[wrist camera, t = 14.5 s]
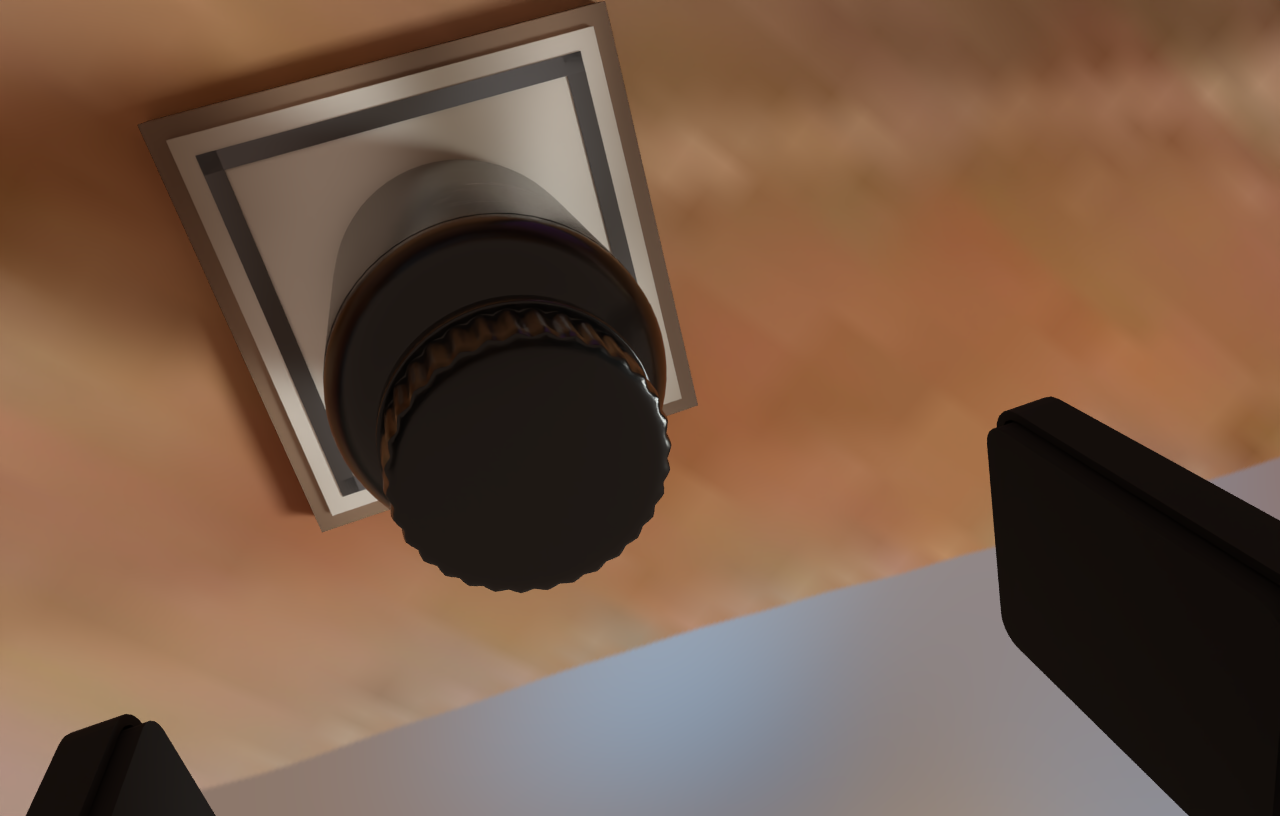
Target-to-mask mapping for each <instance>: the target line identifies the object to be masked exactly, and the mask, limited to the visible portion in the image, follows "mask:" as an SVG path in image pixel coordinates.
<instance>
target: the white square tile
mask: <svg viewBox="0 0 1280 816" xmlns="http://www.w3.org/2000/svg"><path fill="white" fill-rule="evenodd" d="M138 127H139V129H140V132H141V134H142V136H143V138H144V140H145V143H146V145H147V147H148V149H149V151H150V154H151V156H152V158H153V160H154V162H155V165H156V167H157V169H158V171H159V173H160V176H161V178H162V180H163V182H164V184H165V187H166V189H167V191H168V193H169V196H170V198H171V200H172V202H173V204H174V207H175V209H176V211H177V213H178V215H179V218H180V220H181V222H182V224H183V226H184V229H185V231H186V233H187V235H188V237H189V240H190V242H191V244H192V246H193V248H194V251H195V253H196V255H197V257H198V259H199V262H200V264H201V266H202V268H203V271H204V273H205V275H206V277H207V279H208V282H209V284H210V286H211V288H212V290H213V293H214V295H215V297H216V299H217V301H218V304H219V306H220V308H221V310H222V312H223V315H224V317H225V319H226V321H227V323H228V326H229V328H230V330H231V332H232V334H233V337H234V339H235V341H236V343H237V346H238V348H239V350H240V352H241V354H242V357H243V359H244V361H245V363H246V365H247V368H248V370H249V372H250V374H251V376H252V379H253V381H254V383H255V385H256V387H257V390H258V392H259V394H260V396H261V398H262V401H263V403H264V405H265V407H266V409H267V412H268V414H269V416H270V418H271V421H272V423H273V425H274V427H275V429H276V432H277V434H278V436H279V438H280V440H281V443H282V445H283V447H284V449H285V451H286V454H287V456H288V458H289V460H290V462H291V465H292V467H293V469H294V471H295V473H296V476H297V478H298V480H299V482H300V484H301V487H302V489H303V491H304V493H305V496H306V498H307V500H308V502H309V504H310V507H311V509H312V511H313V513H314V515H315V518H316V520H317V522H318V524H319V526H320V529H321V531H322V532H325V531H328V530H331V529H334V528H337V527H340V526H343V525H345V524H348V523H351V522H354V521H357V520H360V519H363V518H366V517H369V516H372V515H375V514H378V513H381V512H384V511H387V510H390V509H388V508H387V507H386V506H384V505H383V504H382V503H381V502H379V501H378V500H377V499H376V498H375V497H374V496H373V495H372V494H370V493H369V492H368V491H367V490H366V489H365V488H364V486H363V485H362V484H361V483H360V482H359V481H358V479H357V478H356V477H355V476H354V474H353V473H352V471H351V470H350V468H349V467H348V465H347V464H346V462H345V461H344V459H343V457H342V455H341V453H340V451H339V449H338V448H337V445H336V443H335V440H334V438H333V435H332V433H331V429H330V426H329V422H328V419H327V414H326V408H325V401H324V387H323V368H324V354H325V345H326V336H327V327H328V319H329V310H330V301H331V292H332V283H333V275H334V269H335V264H336V259H337V254H338V251H339V247H340V244H341V241H342V239H343V236H344V234H345V231H346V230H347V228H348V226H349V224H350V222H351V220H352V219H353V217H354V216H355V214H356V213H357V211H358V210H359V208H360V207H361V206H362V205H363V204H364V203H365V201H366V200H367V199H368V198H369V197H370V196H371V195H372V194H373V193H374V192H375V191H376V190H377V189H379V188H380V187H381V186H383V185H384V184H385V183H386V182H388V181H390V180H391V179H393V178H394V177H396V176H398V175H400V174H402V173H404V172H406V171H408V170H410V169H413V168H415V167H418V166H421V165H424V164H428V163H432V162H437V161H443V160H455V159H466V160H478V161H484V162H489V163H493V164H497V165H500V166H503V167H506V168H508V169H511V170H513V171H515V172H518V173H520V174H522V175H524V176H525V177H527V178H529V179H530V180H532V181H534V182H535V183H537V184H538V185H539V186H541V187H542V188H543V189H545V190H546V191H547V192H548V193H549V194H551V195H552V196H553V197H554V198H555V199H556V200H557V201H558V202H559V203H560V204H561V205H562V206H563V207H565V208H566V209H567V210H568V211H569V212H570V213H571V214H572V215H573V216H574V217H575V218H576V219H577V220H578V221H579V222H580V223H581V224H582V225H583V226H584V227H585V228H586V229H587V230H588V231H589V232H590V233H591V234H592V235H593V236H594V237H595V238H596V239H597V240H598V241H599V242H600V243H601V244H603V245H604V246H605V247H606V248H607V249H608V250H609V251H610V252H611V253H612V254H613V255H614V256H615V257H616V258H617V259H618V260H619V261H620V262H621V264H622V265H623V266H624V267H625V268H626V269H627V270H628V271H629V273H630V274H631V275H632V277H633V278H634V279H635V281H636V282H637V284H638V285H639V286H640V288H641V289H642V291H643V292H644V294H645V296H646V297H647V299H648V301H649V303H650V304H651V307H652V309H653V311H654V313H655V316H656V318H657V321H658V324H659V327H660V330H661V333H662V338H663V343H664V347H665V355H666V365H667V381H666V391H665V398H664V403H663V408H662V410H663V412H664V413H665V414H666V416H668V415H671V414H674V413H677V412H680V411H683V410H686V409H689V408H691V407H694V406H697V405H698V403H697V399H696V395H695V390H694V386H693V382H692V377H691V373H690V369H689V364H688V360H687V356H686V351H685V347H684V343H683V338H682V334H681V329H680V325H679V321H678V316H677V312H676V308H675V303H674V299H673V295H672V290H671V286H670V282H669V277H668V273H667V269H666V264H665V260H664V256H663V251H662V247H661V242H660V238H659V234H658V229H657V225H656V221H655V216H654V212H653V208H652V203H651V199H650V195H649V190H648V186H647V182H646V177H645V173H644V169H643V164H642V160H641V155H640V151H639V147H638V142H637V138H636V134H635V129H634V125H633V121H632V116H631V112H630V108H629V103H628V99H627V95H626V90H625V86H624V81H623V77H622V73H621V68H620V64H619V60H618V55H617V51H616V47H615V42H614V38H613V34H612V29H611V25H610V21H609V16H608V12H607V8H606V3H605V1H603V2H597V3H593V4H589V5H585V6H582V7H578V8H574V9H570V10H566V11H563V12H559V13H555V14H551V15H548V16H544V17H540V18H536V19H532V20H529V21H525V22H521V23H517V24H513V25H510V26H506V27H502V28H498V29H495V30H491V31H487V32H483V33H479V34H476V35H472V36H468V37H464V38H460V39H457V40H453V41H449V42H445V43H442V44H438V45H434V46H430V47H426V48H423V49H419V50H415V51H411V52H408V53H404V54H400V55H396V56H392V57H389V58H385V59H381V60H377V61H373V62H370V63H366V64H362V65H358V66H355V67H351V68H347V69H343V70H339V71H336V72H332V73H328V74H324V75H321V76H317V77H313V78H309V79H305V80H302V81H298V82H294V83H290V84H286V85H283V86H279V87H275V88H271V89H268V90H264V91H260V92H256V93H252V94H249V95H245V96H241V97H237V98H234V99H230V100H226V101H222V102H218V103H215V104H211V105H207V106H203V107H199V108H196V109H192V110H188V111H184V112H181V113H177V114H173V115H169V116H165V117H162V118H158V119H154V120H150V121H146V122H144V123H141V124H139V125H138Z"/></svg>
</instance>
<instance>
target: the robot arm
mask: <svg viewBox="0 0 1280 816" xmlns="http://www.w3.org/2000/svg"><path fill="white" fill-rule="evenodd" d="M987 448H988V460H989V472H990V485H991V497H992V509H993V521H994V533H995V545H996V556H997V568H998V581H999V593H1000V605H1001V614H1002V620H1003V623H1004V626H1005V629H1006V631H1007V633H1008V635H1009V636H1010V638H1011V639H1012V641H1013V642H1014V644H1015V645H1016V646H1017V647H1018V648H1019V649H1020V650H1021V651H1022V652H1023V653H1024V654H1025V655H1026V656H1027V657H1028V658H1029V659H1030V660H1031V661H1032V662H1033V663H1034V664H1035V665H1036V666H1037V667H1038V668H1039V669H1040V670H1041V671H1042V672H1043V673H1044V674H1045V675H1046V676H1047V677H1048V678H1049V679H1050V680H1051V681H1052V682H1053V683H1054V684H1055V685H1056V686H1057V687H1058V688H1060V690H1062V692H1064V693H1065V695H1066V696H1068V697H1069V698H1070V699H1071V700H1072V701H1073V702H1074V703H1075V704H1076V705H1077V706H1078V707H1079V708H1080V709H1081V710H1082V711H1083V712H1084V713H1085V714H1086V715H1087V716H1088V717H1089V718H1090V719H1091V720H1092V721H1093V722H1094V723H1095V724H1096V725H1097V726H1098V727H1099V728H1100V729H1101V730H1102V731H1103V732H1104V733H1105V734H1106V735H1107V736H1108V737H1109V738H1110V739H1111V740H1112V741H1113V742H1114V743H1115V744H1116V745H1117V746H1118V747H1119V748H1120V749H1121V750H1122V751H1123V752H1124V753H1125V754H1127V755H1128V756H1129V757H1130V758H1131V759H1132V760H1133V761H1134V762H1135V763H1136V764H1137V765H1138V766H1139V767H1140V768H1141V769H1142V770H1143V771H1144V772H1145V773H1146V774H1147V775H1148V776H1149V777H1150V778H1151V779H1152V780H1153V781H1154V782H1155V783H1156V784H1157V785H1158V786H1159V787H1160V788H1161V789H1162V790H1163V791H1164V792H1165V793H1166V794H1167V795H1168V796H1169V797H1170V798H1171V799H1172V800H1173V801H1175V803H1176V804H1177V805H1178V806H1179V807H1180V808H1182V810H1183V811H1185V813H1187V814H1188V815H1189V816H1280V521H1279V520H1278V519H1276V518H1274V517H1272V516H1270V515H1269V514H1267V513H1265V512H1263V511H1261V510H1260V509H1258V508H1256V507H1254V506H1252V505H1250V504H1248V503H1247V502H1245V501H1243V500H1241V499H1239V498H1238V497H1236V496H1234V495H1232V494H1230V493H1228V492H1227V491H1225V490H1223V489H1221V488H1220V487H1218V486H1216V485H1214V484H1212V483H1210V482H1209V481H1207V480H1205V479H1203V478H1201V477H1200V476H1198V475H1196V474H1194V473H1192V472H1190V471H1189V470H1187V469H1185V468H1183V467H1181V466H1180V465H1178V464H1176V463H1174V462H1172V461H1170V460H1169V459H1167V458H1165V457H1163V456H1161V455H1160V454H1158V453H1156V452H1154V451H1152V450H1150V449H1149V448H1147V447H1145V446H1143V445H1141V444H1140V443H1138V442H1136V441H1134V440H1132V439H1130V438H1129V437H1127V436H1125V435H1123V434H1121V433H1120V432H1118V431H1116V430H1114V429H1112V428H1110V427H1109V426H1107V425H1105V424H1103V423H1101V422H1100V421H1098V420H1096V419H1094V418H1092V417H1091V416H1089V415H1087V414H1085V413H1083V412H1081V411H1080V410H1078V409H1076V408H1074V407H1072V406H1071V405H1069V404H1067V403H1065V402H1063V401H1061V400H1060V399H1057V398H1054V397H1045V398H1042V399H1039V400H1036V401H1033V402H1030V403H1028V404H1025V405H1022V406H1019V407H1016V408H1013V409H1010V410H1007V411H1004V412H1003V413H1002V414H1001V415H1000V416H999V418H998V421H997V428H994V429H992V430H991V431H990V432H989V434H988V437H987ZM26 816H215V814H214V812H213V811H212V809H211V808H210V806H209V804H208V803H207V801H206V799H205V798H204V796H203V794H202V792H201V791H200V789H199V788H198V786H197V784H196V783H195V781H194V779H193V778H192V776H191V774H190V773H189V771H188V769H187V768H186V766H185V764H184V763H183V761H182V760H181V758H180V756H179V755H178V753H177V751H176V750H175V748H174V746H173V745H172V743H171V741H170V740H169V738H168V736H167V735H166V733H165V731H164V730H163V729H162V727H161V726H160V725H159V724H158V723H156V722H155V721H148V722H145V723H141V722H140V720H139V719H137V718H136V717H135V716H133V715H129V714H124V715H121V716H118V717H116V718H113V719H110V720H107V721H104V722H101V723H98V724H95V725H92V726H89V727H86V728H84V729H81V730H78V731H75V732H72V733H70V734H68V735H66V736H65V737H64V738H63V739H62V741H61V742H60V744H59V746H58V748H57V750H56V752H55V754H54V756H53V758H52V761H51V763H50V765H49V767H48V769H47V771H46V773H45V776H44V778H43V780H42V782H41V784H40V786H39V788H38V791H37V793H36V795H35V797H34V799H33V801H32V803H31V806H30V808H29V810H28V812H27V814H26Z"/></svg>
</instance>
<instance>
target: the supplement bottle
mask: <svg viewBox="0 0 1280 816" xmlns="http://www.w3.org/2000/svg"><path fill="white" fill-rule="evenodd" d="M666 381H667V365H666V355H665V347H664V343H663V338H662V333H661V330H660V327H659V324H658V321H657V318H656V316H655V313H654V311H653V309H652V307H651V304H650V303H649V301H648V299H647V297H646V296H645V294H644V292H643V291H642V289H641V288H640V286H639V285H638V284H637V282H636V281H635V279H634V278H633V277H632V275H631V274H630V273H629V271H628V270H627V269H626V268H625V267H624V266H623V265H622V264H621V262H620V261H619V260H618V259H617V258H616V257H615V256H614V255H613V254H612V253H611V252H610V251H609V250H608V249H607V248H606V247H605V246H604V245H603V244H601V243H600V242H599V241H598V240H597V239H596V238H595V237H594V236H593V235H592V234H591V233H590V232H589V231H588V230H587V229H586V228H585V227H584V226H583V225H582V224H581V223H580V222H579V221H578V220H577V219H576V218H575V217H574V216H573V215H572V214H571V213H570V212H569V211H568V210H567V209H566V208H565V207H563V206H562V205H561V204H560V203H559V202H558V201H557V200H556V199H555V198H554V197H553V196H552V195H551V194H549V193H548V192H547V191H546V190H545V189H543V188H542V187H541V186H539V185H538V184H537V183H535V182H534V181H532V180H530V179H529V178H527V177H525V176H524V175H522V174H520V173H518V172H515V171H513V170H511V169H508V168H506V167H503V166H500V165H497V164H493V163H489V162H484V161H478V160H466V159H455V160H443V161H437V162H432V163H428V164H424V165H421V166H418V167H415V168H413V169H410V170H408V171H406V172H404V173H402V174H400V175H398V176H396V177H394V178H393V179H391V180H390V181H388V182H386V183H385V184H384V185H383V186H381V187H380V188H379V189H377V190H376V191H375V192H374V193H373V194H372V195H371V196H370V197H369V198H368V199H367V200H366V201H365V203H364V204H363V205H362V206H361V207H360V208H359V210H358V211H357V213H356V214H355V216H354V217H353V219H352V220H351V222H350V224H349V226H348V228H347V230H346V231H345V234H344V236H343V239H342V241H341V244H340V247H339V251H338V254H337V259H336V264H335V269H334V275H333V283H332V292H331V301H330V310H329V319H328V327H327V336H326V345H325V354H324V368H323V387H324V401H325V408H326V414H327V419H328V422H329V426H330V429H331V433H332V435H333V438H334V440H335V443H336V445H337V448H338V449H339V451H340V453H341V455H342V457H343V459H344V461H345V462H346V464H347V465H348V467H349V468H350V470H351V471H352V473H353V474H354V476H355V477H356V478H357V479H358V481H359V482H360V483H361V484H362V485H363V486H364V488H365V489H366V490H367V491H368V492H369V493H370V494H372V495H373V496H374V497H375V498H376V499H377V500H378V501H379V502H381V503H382V504H383V505H384V506H386V507H387V508H388V509H390V510H391V517H392V519H393V520H394V521H395V522H396V524H397V525H398V526H400V527H401V528H402V532H403V537H404V540H405V542H406V543H408V544H409V545H410V546H412V547H414V548H416V549H417V550H419V554H420V556H421V557H422V559H423V561H425V562H427V563H429V564H434V565H436V566H438V568H439V569H440V570H441V572H442V573H443V574H444V575H445V576H449V577H457V578H460V579H461V580H462V581H463V582H464V583H466V584H467V585H469V586H485V587H486V588H488V589H490V590H492V591H495V592H496V591H503V590H512V591H515V592H519V593H523V592H526V591H529V590H532V589H542V590H549V589H551V588H553V587H555V586H556V585H558V584H560V583H572V582H575V581H576V580H578V579H579V578H580V577H581V576H582V575H584V574H587V573H592V572H595V571H598V570H599V569H600V568H601V567H602V566H603V564H604V563H605V562H606V561H608V560H611V559H613V558H615V557H618V556H619V555H620V554H621V553H622V551H623V549H624V548H625V546H626V545H627V544H629V543H630V542H632V541H634V540H635V539H637V538H638V536H639V534H640V532H641V529H642V527H643V525H644V524H646V523H647V522H648V521H649V520H650V519H651V518H652V517H653V515H654V508H655V505H656V503H657V502H658V501H659V500H660V498H661V497H662V496H663V494H664V485H663V483H664V480H665V479H666V477H667V475H668V473H669V471H670V466H669V462H668V459H667V457H668V455H669V452H670V448H671V441H670V439H669V437H668V435H667V433H666V431H667V423H668V420H667V416H666V414H665V413H664V412H663V410H662V408H663V403H664V398H665V391H666Z"/></svg>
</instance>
